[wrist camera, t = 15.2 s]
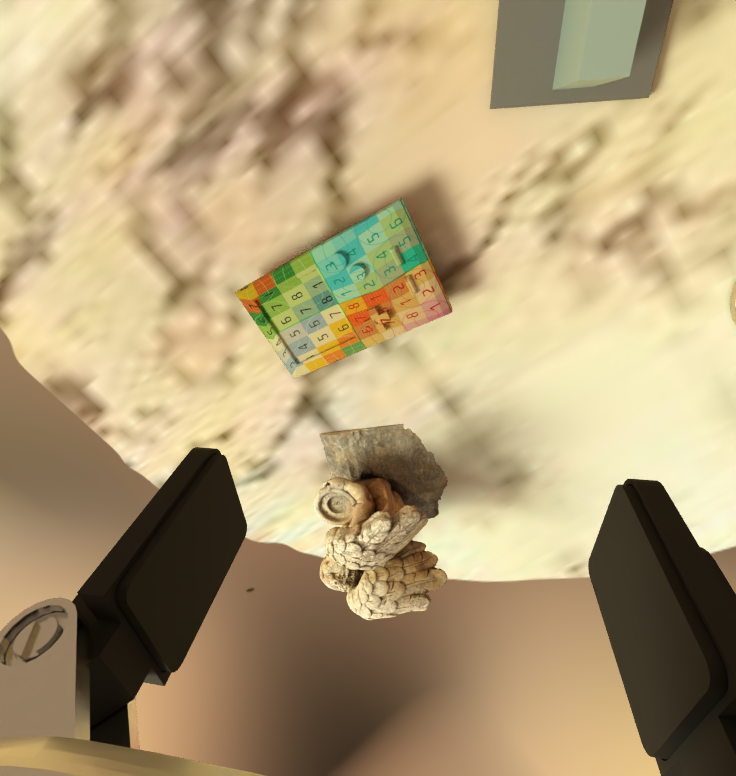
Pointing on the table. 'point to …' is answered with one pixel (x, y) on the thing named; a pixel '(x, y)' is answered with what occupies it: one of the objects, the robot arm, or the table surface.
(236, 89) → the table surface
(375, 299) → the puzzle game
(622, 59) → the pale teal block
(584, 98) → the mat
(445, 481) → the cherub figurine
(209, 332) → the table surface
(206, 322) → the table surface
